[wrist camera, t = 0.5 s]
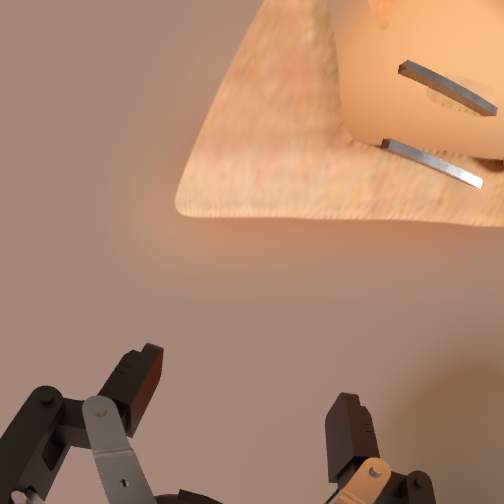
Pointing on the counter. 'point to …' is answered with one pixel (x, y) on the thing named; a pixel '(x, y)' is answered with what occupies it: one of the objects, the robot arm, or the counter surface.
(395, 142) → the guide channel
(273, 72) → the counter surface
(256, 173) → the counter surface
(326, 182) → the counter surface
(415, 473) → the robot arm
